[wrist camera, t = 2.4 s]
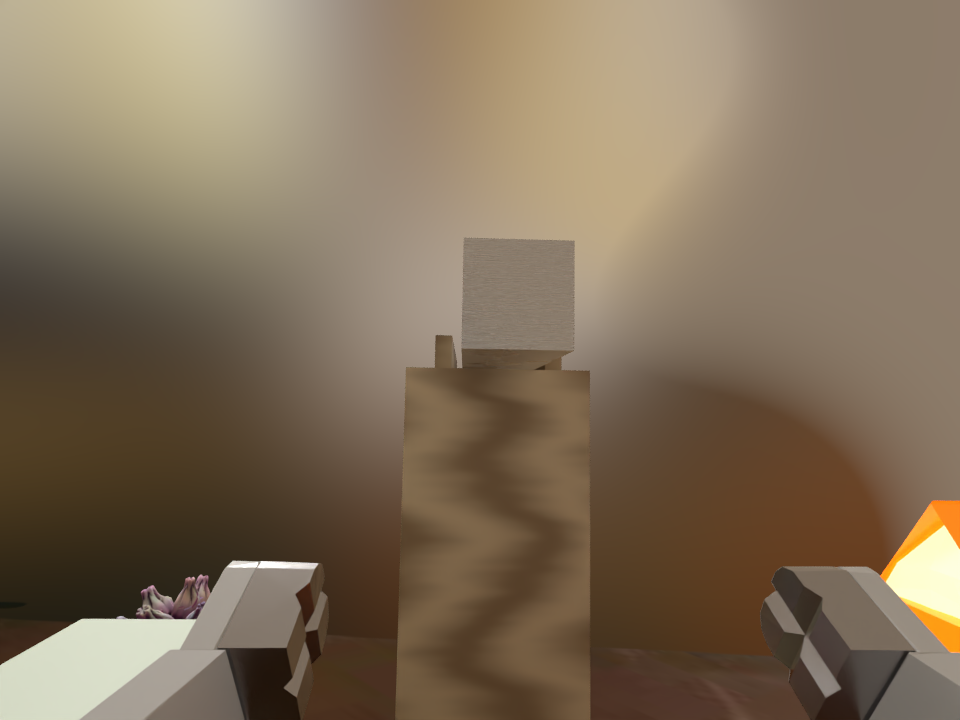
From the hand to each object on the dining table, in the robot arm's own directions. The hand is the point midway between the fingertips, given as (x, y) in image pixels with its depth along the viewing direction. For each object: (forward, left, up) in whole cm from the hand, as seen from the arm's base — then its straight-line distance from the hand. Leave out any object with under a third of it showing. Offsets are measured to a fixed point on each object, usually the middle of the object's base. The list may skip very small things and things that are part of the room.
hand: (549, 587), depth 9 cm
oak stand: (0, +23, -21) cm, 31 cm away
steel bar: (0, +18, +5) cm, 19 cm away
